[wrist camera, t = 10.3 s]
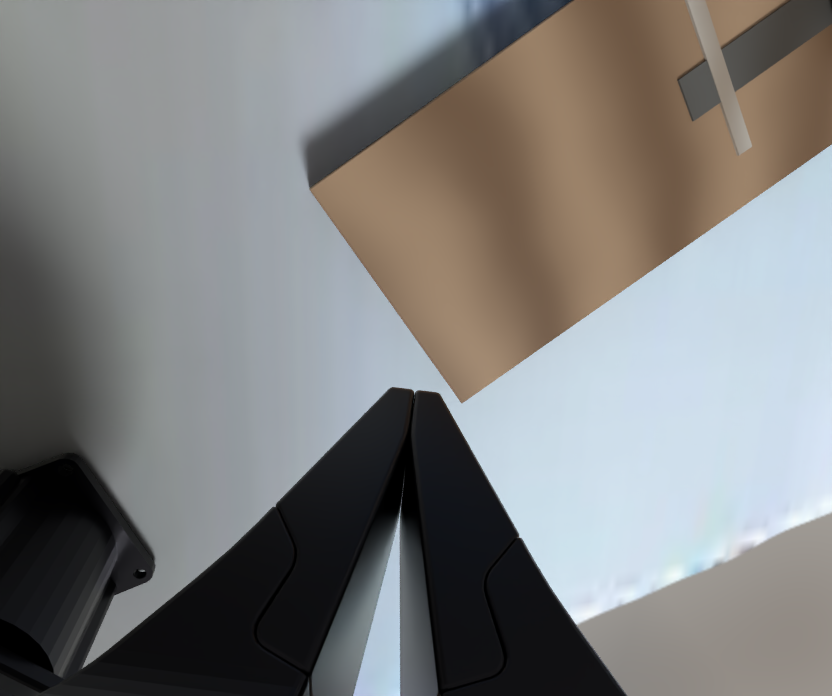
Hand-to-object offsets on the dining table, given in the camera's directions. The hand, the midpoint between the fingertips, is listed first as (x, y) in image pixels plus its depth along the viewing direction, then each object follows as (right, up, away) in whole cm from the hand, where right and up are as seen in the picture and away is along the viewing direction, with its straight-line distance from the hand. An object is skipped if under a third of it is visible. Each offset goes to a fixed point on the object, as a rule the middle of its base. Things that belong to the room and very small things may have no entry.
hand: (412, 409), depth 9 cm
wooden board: (+8, +9, +11) cm, 17 cm away
